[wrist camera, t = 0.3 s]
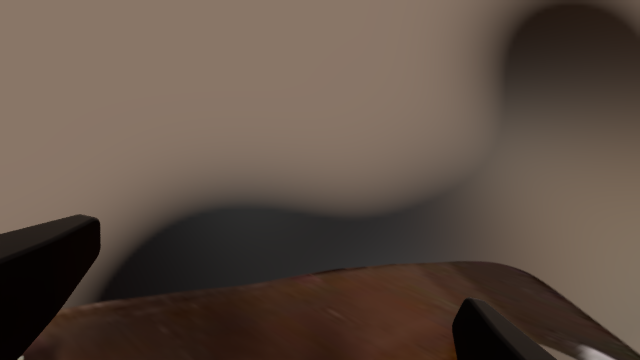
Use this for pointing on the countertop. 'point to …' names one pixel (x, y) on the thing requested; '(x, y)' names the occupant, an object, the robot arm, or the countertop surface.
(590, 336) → the countertop surface
